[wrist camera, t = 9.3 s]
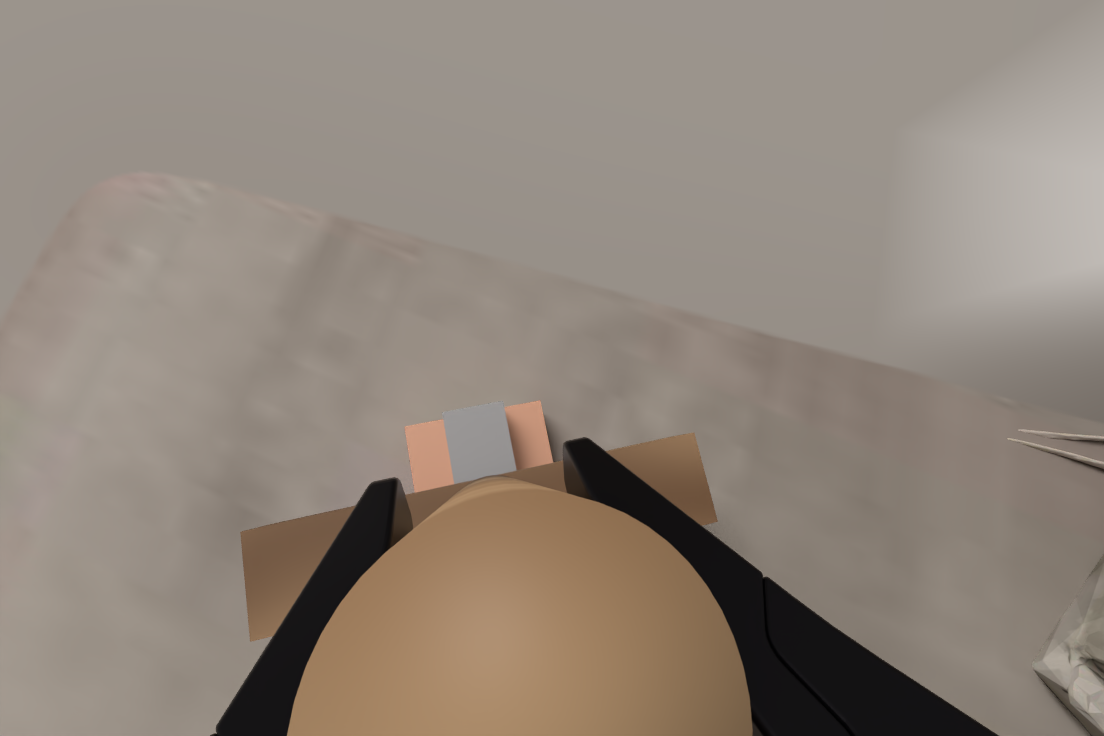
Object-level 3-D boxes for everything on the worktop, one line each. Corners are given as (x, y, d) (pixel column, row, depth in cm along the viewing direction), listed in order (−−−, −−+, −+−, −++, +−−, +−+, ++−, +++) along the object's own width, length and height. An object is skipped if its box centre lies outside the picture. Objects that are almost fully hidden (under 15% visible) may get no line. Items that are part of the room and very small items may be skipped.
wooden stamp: (693, 517, 15) (1372, 672, 3) (279, 622, 13) (-1420, 1885, 1) (672, 434, 15) (1210, 335, 4) (269, 522, 13) (-1062, 847, 2)
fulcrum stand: (570, 581, 19) (593, 611, 15) (442, 615, 18) (430, 656, 14) (534, 406, 20) (546, 392, 16) (412, 430, 19) (394, 421, 15)
